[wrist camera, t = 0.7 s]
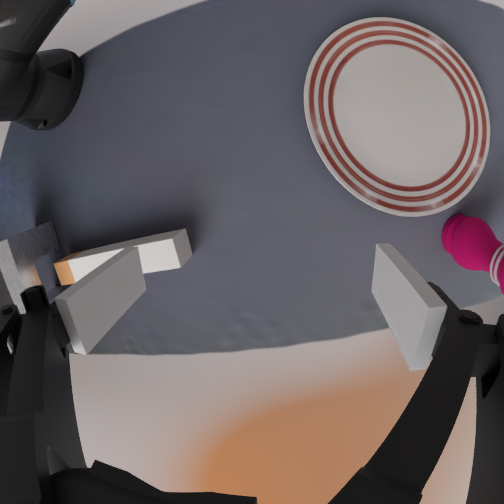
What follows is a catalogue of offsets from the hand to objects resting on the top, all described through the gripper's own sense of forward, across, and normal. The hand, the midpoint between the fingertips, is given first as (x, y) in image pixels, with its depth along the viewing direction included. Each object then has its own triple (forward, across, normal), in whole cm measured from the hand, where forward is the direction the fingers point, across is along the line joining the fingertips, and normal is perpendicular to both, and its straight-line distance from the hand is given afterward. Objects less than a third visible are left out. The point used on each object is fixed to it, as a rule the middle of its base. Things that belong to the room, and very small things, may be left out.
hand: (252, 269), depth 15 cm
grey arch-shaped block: (+24, -41, -10) cm, 49 cm away
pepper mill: (+24, +28, -5) cm, 37 cm away
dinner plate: (+24, +18, +12) cm, 32 cm away
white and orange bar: (+24, -24, -8) cm, 35 cm away
